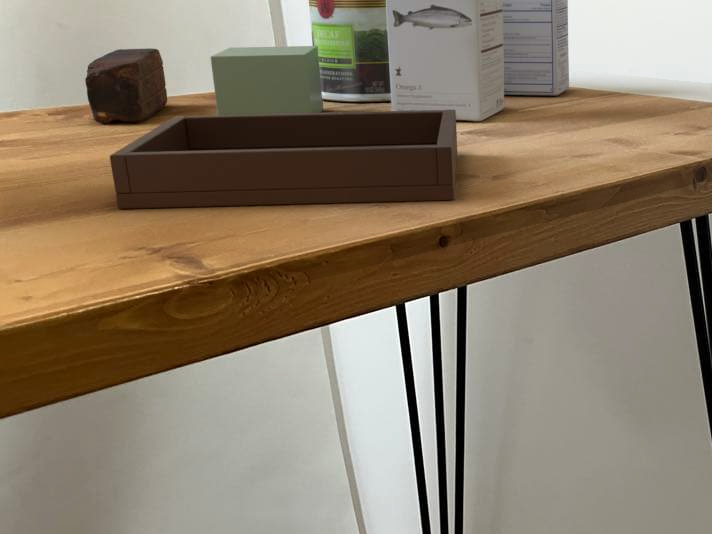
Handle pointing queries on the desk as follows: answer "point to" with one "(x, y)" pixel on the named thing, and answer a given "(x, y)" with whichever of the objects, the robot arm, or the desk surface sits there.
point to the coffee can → (352, 49)
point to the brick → (126, 85)
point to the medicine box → (535, 47)
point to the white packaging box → (446, 56)
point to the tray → (290, 159)
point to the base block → (267, 80)
